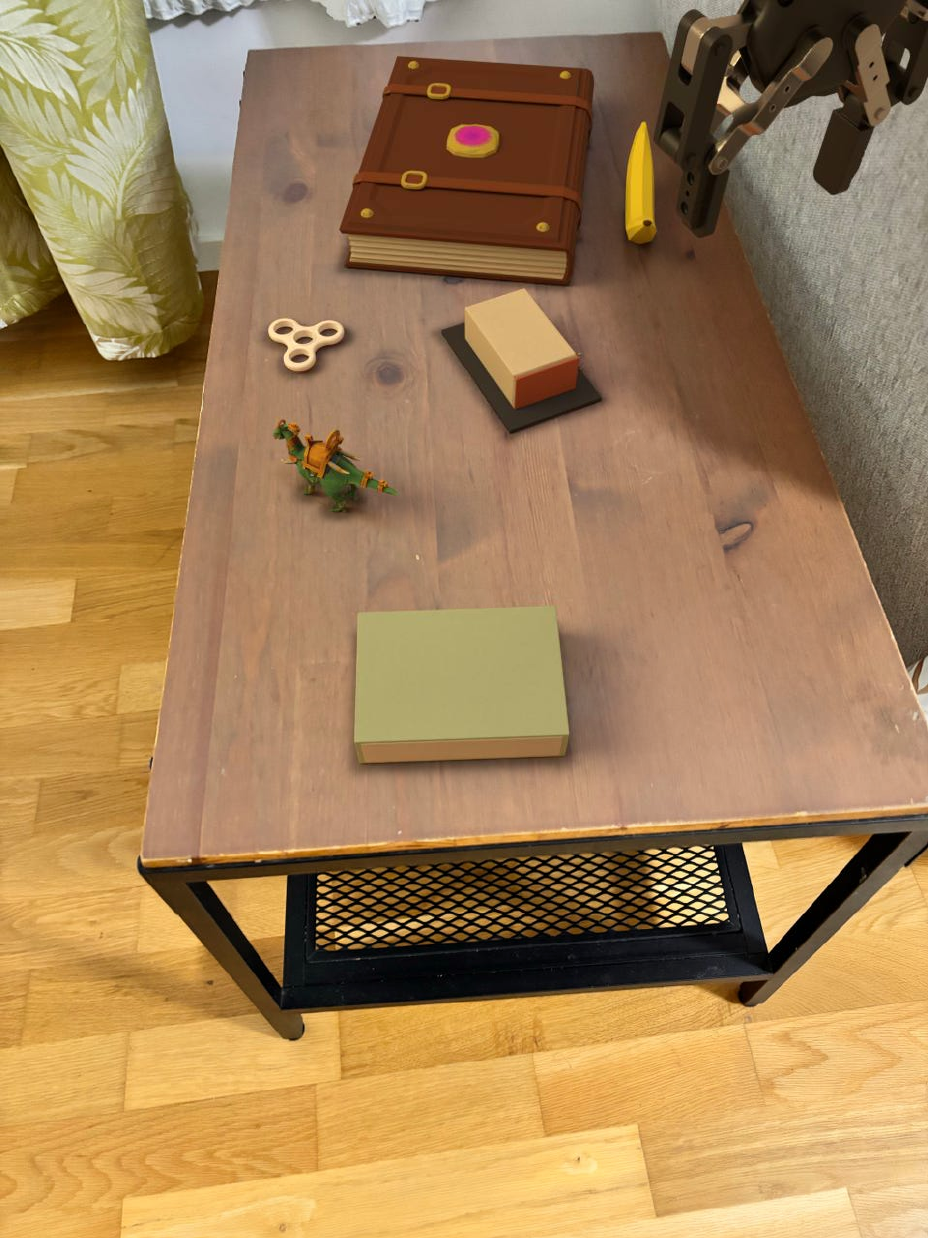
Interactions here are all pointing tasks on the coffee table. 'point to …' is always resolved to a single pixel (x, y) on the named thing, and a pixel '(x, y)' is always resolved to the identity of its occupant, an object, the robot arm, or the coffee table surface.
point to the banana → (640, 190)
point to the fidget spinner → (303, 331)
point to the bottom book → (459, 685)
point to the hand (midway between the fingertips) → (763, 206)
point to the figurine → (327, 465)
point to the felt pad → (499, 402)
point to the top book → (520, 348)
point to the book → (473, 171)
